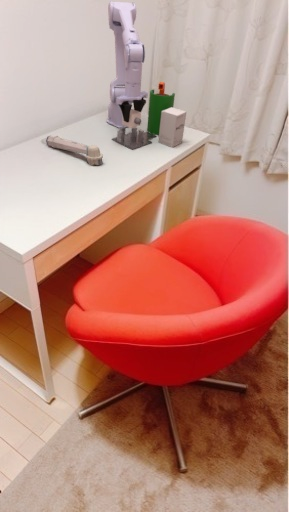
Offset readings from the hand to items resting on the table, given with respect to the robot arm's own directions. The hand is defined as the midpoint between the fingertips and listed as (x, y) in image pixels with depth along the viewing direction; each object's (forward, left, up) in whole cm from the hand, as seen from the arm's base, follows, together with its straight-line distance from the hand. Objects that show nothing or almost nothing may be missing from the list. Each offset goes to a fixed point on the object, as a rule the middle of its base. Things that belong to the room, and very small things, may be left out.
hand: (131, 120), depth 136 cm
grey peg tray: (0, +4, -9) cm, 10 cm away
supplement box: (+10, +13, -9) cm, 19 cm away
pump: (0, 0, -2) cm, 2 cm away
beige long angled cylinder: (-4, -25, -9) cm, 27 cm away
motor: (-1, +18, -9) cm, 20 cm away
